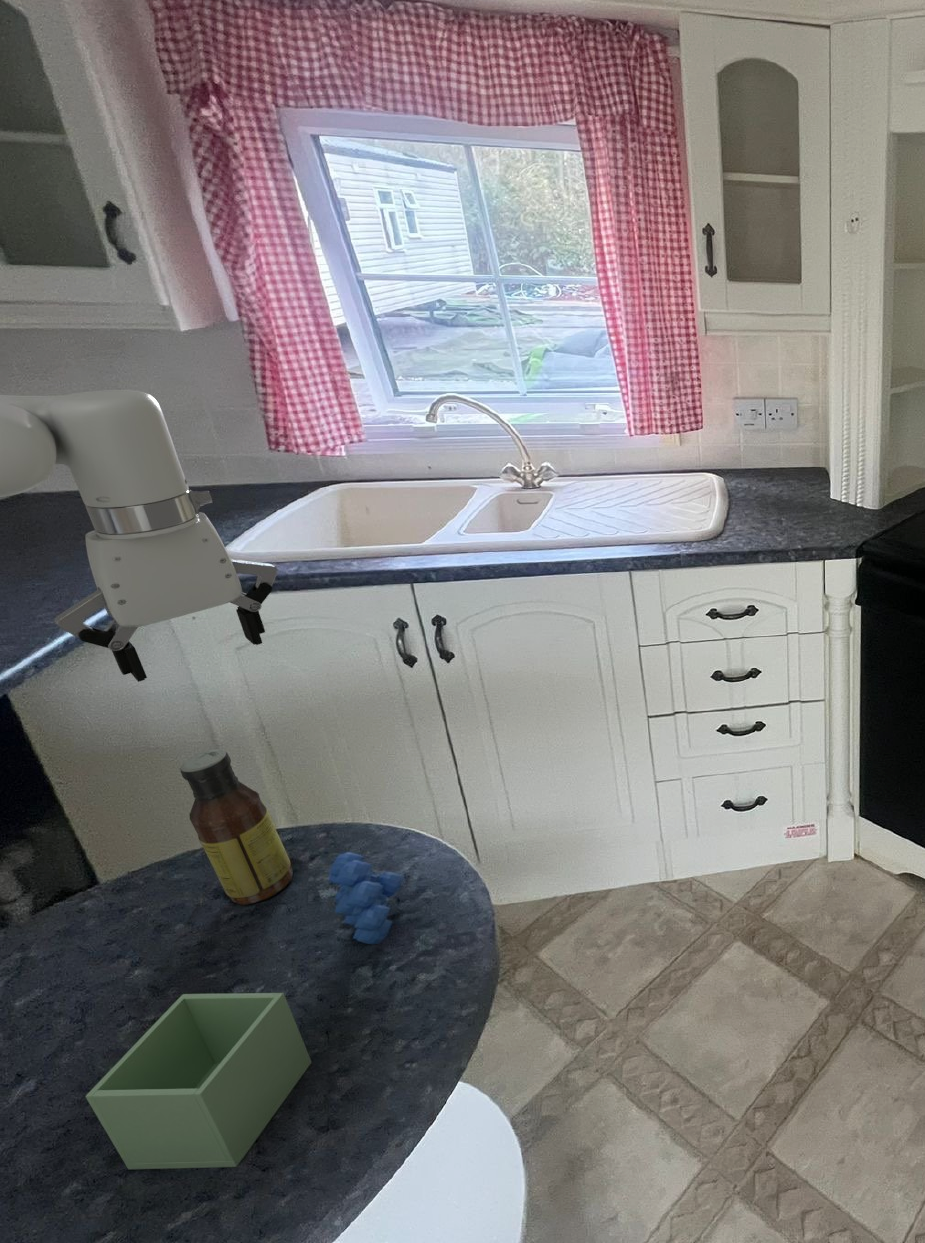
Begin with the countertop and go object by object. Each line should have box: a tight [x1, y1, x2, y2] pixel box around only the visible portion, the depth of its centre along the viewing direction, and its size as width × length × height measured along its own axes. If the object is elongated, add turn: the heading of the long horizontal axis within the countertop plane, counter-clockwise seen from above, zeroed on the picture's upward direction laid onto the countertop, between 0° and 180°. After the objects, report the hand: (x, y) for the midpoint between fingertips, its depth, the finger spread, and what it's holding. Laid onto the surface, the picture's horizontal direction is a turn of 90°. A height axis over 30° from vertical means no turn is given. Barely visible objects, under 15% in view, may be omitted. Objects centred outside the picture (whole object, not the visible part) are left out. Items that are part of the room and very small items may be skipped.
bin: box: [84, 992, 312, 1170], centre depth 67 cm, size 9×9×10 cm
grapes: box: [328, 851, 405, 945], centre depth 85 cm, size 12×7×12 cm, turn 51°
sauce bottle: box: [179, 748, 294, 906], centre depth 89 cm, size 7×6×20 cm
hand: (199, 657), depth 83 cm, fingers open, 9 cm apart
